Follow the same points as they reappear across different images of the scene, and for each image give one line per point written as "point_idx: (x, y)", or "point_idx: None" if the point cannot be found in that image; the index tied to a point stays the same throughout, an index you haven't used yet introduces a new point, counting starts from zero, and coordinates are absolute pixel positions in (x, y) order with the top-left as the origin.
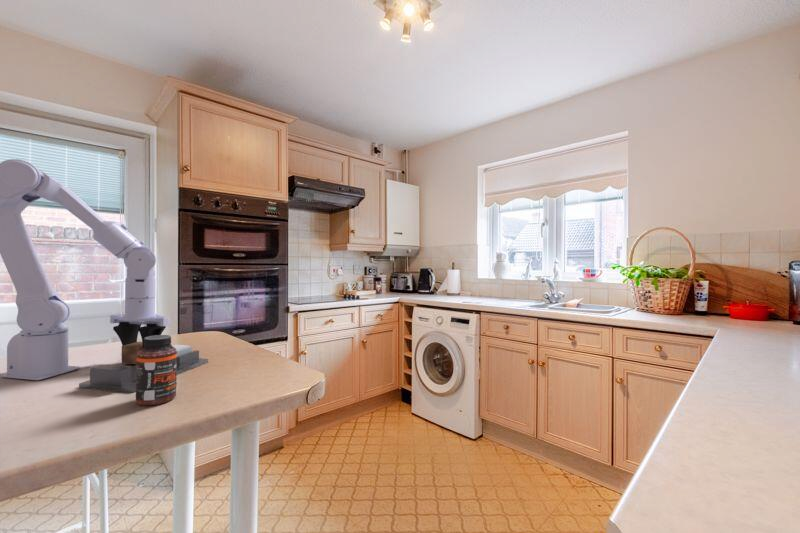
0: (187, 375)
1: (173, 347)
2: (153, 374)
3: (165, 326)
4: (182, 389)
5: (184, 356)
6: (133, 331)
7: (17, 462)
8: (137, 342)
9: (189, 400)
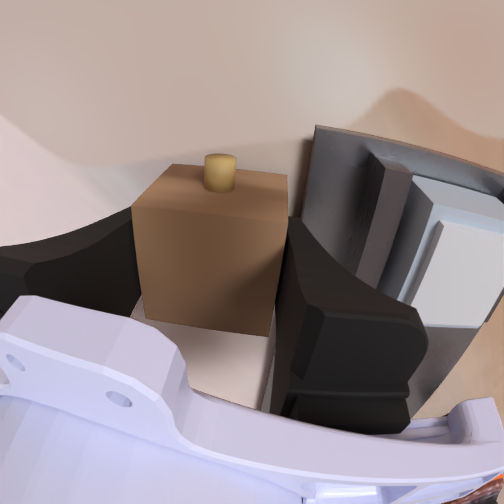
0: (495, 326)
1: (499, 491)
2: None
3: (423, 325)
4: (490, 387)
5: (499, 298)
6: (89, 301)
7: None
8: (147, 234)
9: (500, 408)
